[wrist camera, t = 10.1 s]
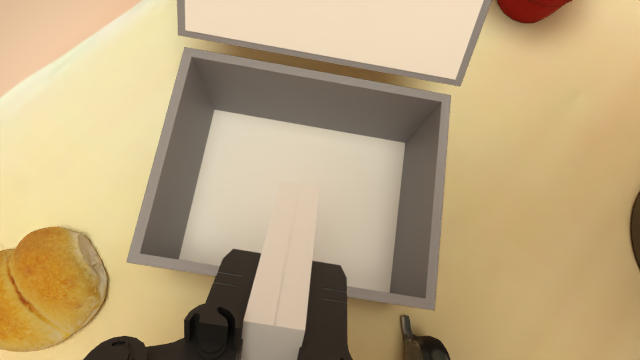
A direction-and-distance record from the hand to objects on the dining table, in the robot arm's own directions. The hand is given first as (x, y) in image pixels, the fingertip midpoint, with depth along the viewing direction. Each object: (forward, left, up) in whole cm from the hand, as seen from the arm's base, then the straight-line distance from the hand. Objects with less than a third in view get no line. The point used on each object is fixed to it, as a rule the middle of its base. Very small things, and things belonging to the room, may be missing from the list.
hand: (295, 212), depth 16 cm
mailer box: (0, -4, -17) cm, 18 cm away
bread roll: (+18, +6, -18) cm, 26 cm away
